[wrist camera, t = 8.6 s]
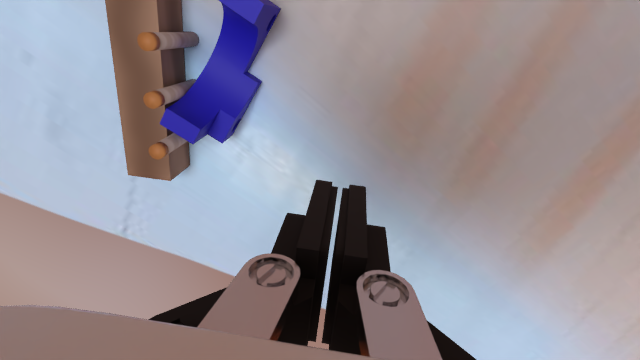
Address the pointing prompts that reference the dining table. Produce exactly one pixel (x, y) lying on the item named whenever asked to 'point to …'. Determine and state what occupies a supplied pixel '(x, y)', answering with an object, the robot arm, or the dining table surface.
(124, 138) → the peg rack
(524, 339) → the dining table surface
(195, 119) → the blue curved cradle
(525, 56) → the dining table surface
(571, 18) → the dining table surface
